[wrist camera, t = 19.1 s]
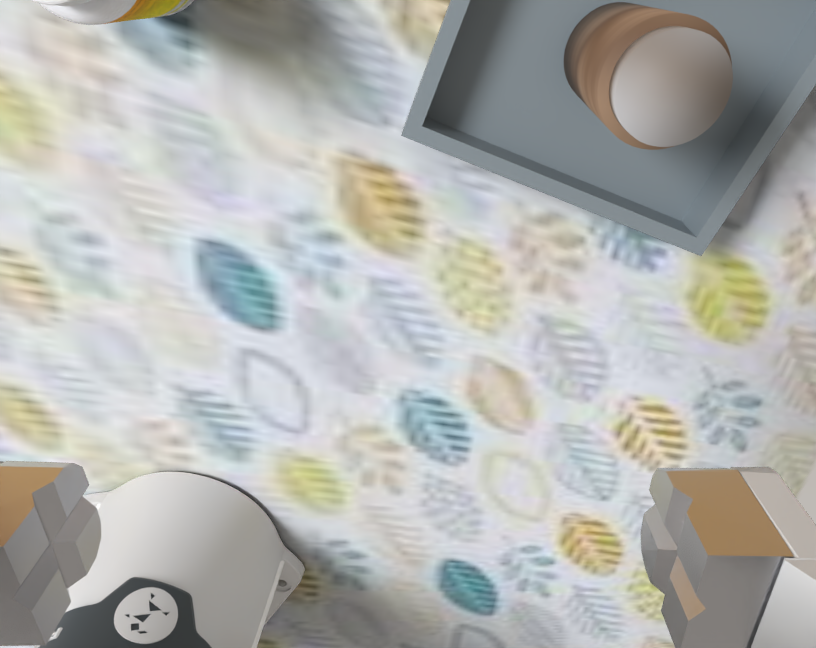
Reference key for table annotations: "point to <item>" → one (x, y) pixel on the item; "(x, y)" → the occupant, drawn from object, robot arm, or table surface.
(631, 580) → the table surface
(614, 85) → the shaker
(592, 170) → the tray
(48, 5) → the supplement bottle
